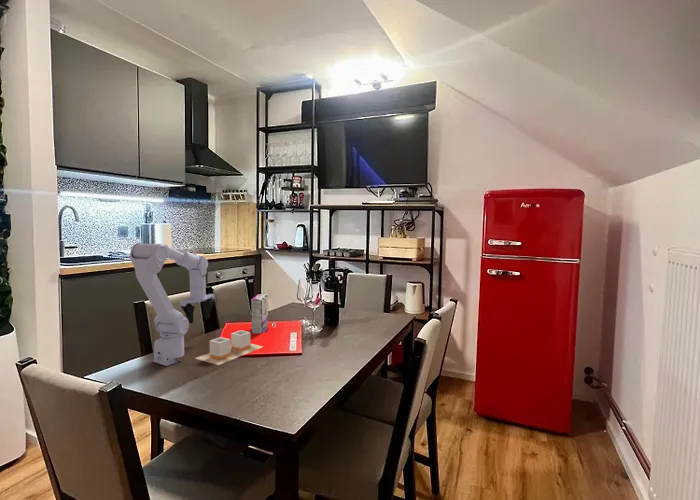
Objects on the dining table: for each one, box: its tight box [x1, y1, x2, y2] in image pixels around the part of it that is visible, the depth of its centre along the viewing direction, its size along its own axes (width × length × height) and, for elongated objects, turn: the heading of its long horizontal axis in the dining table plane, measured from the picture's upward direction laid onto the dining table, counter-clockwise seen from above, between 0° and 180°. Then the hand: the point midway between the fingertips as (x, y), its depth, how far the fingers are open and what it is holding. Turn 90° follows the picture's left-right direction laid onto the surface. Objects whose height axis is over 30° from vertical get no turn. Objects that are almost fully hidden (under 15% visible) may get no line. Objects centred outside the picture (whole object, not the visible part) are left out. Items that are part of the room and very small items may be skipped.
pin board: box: [194, 343, 264, 366], centre depth 141 cm, size 22×12×5 cm, turn 150°
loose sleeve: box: [209, 336, 231, 360], centre depth 137 cm, size 5×5×6 cm
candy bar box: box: [250, 293, 269, 334], centre depth 170 cm, size 11×5×16 cm, turn 179°
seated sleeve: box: [230, 330, 252, 351], centre depth 145 cm, size 5×5×6 cm
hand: (198, 320), depth 151 cm, fingers open, 7 cm apart
